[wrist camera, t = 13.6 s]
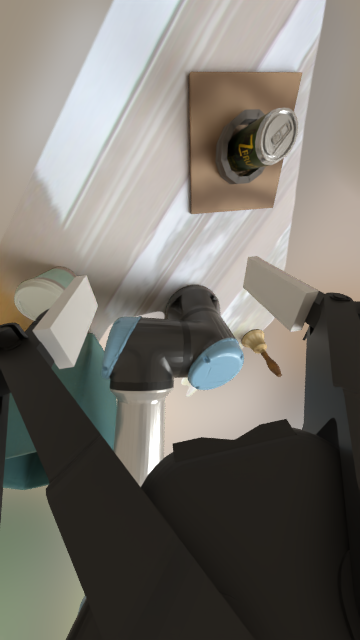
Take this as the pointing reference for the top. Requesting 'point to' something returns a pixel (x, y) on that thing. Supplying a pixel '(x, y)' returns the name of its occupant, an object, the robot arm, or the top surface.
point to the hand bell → (260, 348)
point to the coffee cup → (42, 291)
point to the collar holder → (224, 122)
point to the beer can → (263, 141)
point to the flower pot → (91, 397)
